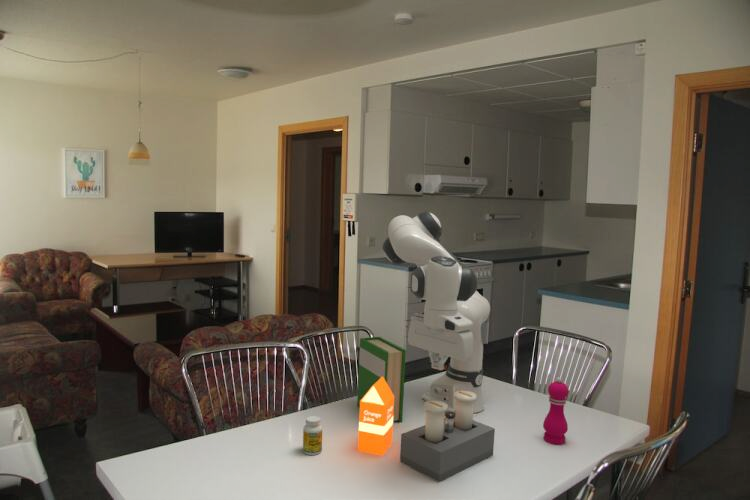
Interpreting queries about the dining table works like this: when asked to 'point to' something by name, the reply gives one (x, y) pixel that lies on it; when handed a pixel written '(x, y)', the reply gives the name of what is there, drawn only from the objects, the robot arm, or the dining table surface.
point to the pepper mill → (556, 413)
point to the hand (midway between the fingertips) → (437, 368)
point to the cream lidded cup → (464, 409)
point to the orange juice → (376, 419)
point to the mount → (447, 450)
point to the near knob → (434, 420)
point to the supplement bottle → (312, 436)
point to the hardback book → (382, 370)
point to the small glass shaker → (449, 421)
